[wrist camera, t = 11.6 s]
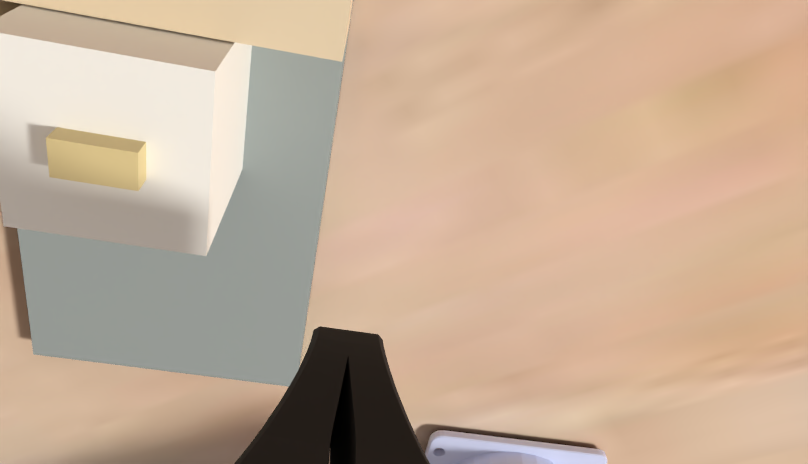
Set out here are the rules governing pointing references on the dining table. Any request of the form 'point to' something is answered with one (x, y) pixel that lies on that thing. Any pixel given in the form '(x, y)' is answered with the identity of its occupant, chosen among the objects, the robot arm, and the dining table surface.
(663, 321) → the dining table surface
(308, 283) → the board
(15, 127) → the cabinet block
